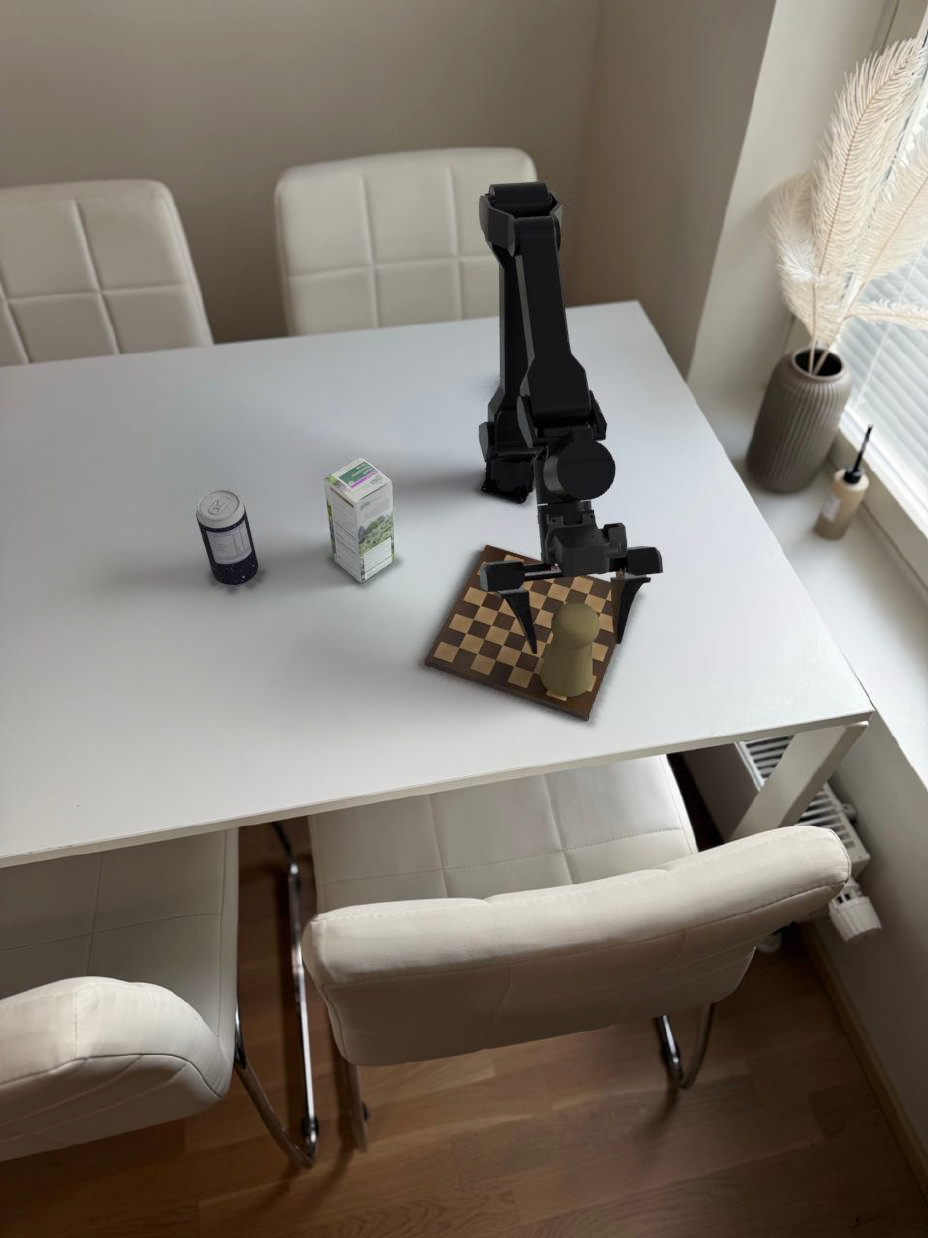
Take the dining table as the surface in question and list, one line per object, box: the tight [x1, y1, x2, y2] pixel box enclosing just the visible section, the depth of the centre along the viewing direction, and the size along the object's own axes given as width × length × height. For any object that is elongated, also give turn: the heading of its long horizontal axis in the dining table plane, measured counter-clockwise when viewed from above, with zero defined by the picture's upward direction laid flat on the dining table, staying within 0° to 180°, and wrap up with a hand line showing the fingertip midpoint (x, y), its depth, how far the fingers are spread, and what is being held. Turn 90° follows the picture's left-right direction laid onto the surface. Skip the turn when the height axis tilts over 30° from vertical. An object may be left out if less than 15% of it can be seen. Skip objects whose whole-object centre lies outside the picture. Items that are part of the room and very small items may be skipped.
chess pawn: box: [540, 602, 600, 697], centre depth 101 cm, size 6×6×11 cm
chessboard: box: [424, 544, 637, 722], centre depth 111 cm, size 20×20×1 cm
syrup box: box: [323, 456, 396, 584], centre depth 112 cm, size 6×6×14 cm
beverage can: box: [195, 489, 259, 587], centre depth 111 cm, size 6×6×12 cm
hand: (576, 648), depth 99 cm, fingers open, 9 cm apart
